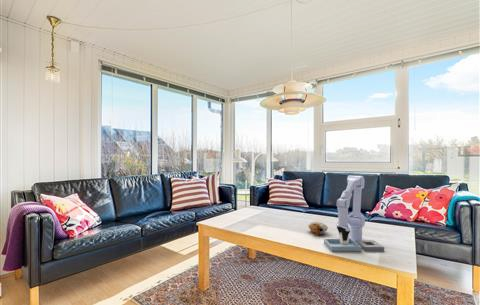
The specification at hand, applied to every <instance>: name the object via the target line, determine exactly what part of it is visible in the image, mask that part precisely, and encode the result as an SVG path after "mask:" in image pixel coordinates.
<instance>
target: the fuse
mask: <svg viewBox="0 0 480 305" xmlns="http://www.w3.org/2000/svg"><path fill="white" fill-rule="evenodd" d="M339 239H340V244H341V245H349V239H350V238H349V234H348V238H347V241H343V238H342V233H341V232H340V235H339Z"/></svg>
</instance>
